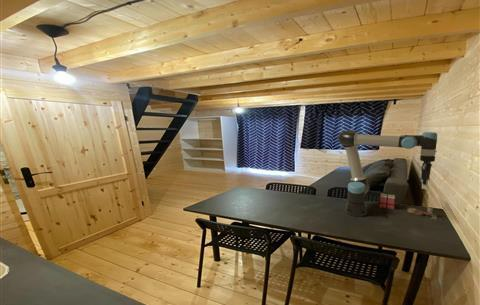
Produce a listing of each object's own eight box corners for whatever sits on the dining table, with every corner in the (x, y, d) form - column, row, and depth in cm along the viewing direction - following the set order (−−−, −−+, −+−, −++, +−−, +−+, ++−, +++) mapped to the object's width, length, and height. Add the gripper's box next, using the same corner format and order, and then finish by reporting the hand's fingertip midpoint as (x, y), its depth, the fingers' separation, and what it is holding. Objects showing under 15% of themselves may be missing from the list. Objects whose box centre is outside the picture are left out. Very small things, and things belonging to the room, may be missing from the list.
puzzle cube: (394, 211, 162) (395, 199, 161) (379, 208, 168) (379, 196, 167) (394, 206, 170) (395, 195, 169) (379, 204, 176) (380, 193, 175)
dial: (407, 213, 154) (407, 205, 153) (407, 209, 161) (408, 201, 160) (432, 218, 145) (433, 210, 144) (431, 213, 152) (432, 205, 151)
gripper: (432, 157, 134) (428, 192, 137) (438, 154, 141) (434, 188, 145) (417, 155, 140) (414, 189, 144) (423, 153, 147) (420, 185, 151)
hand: (424, 188), depth 144 cm, fingers closed
